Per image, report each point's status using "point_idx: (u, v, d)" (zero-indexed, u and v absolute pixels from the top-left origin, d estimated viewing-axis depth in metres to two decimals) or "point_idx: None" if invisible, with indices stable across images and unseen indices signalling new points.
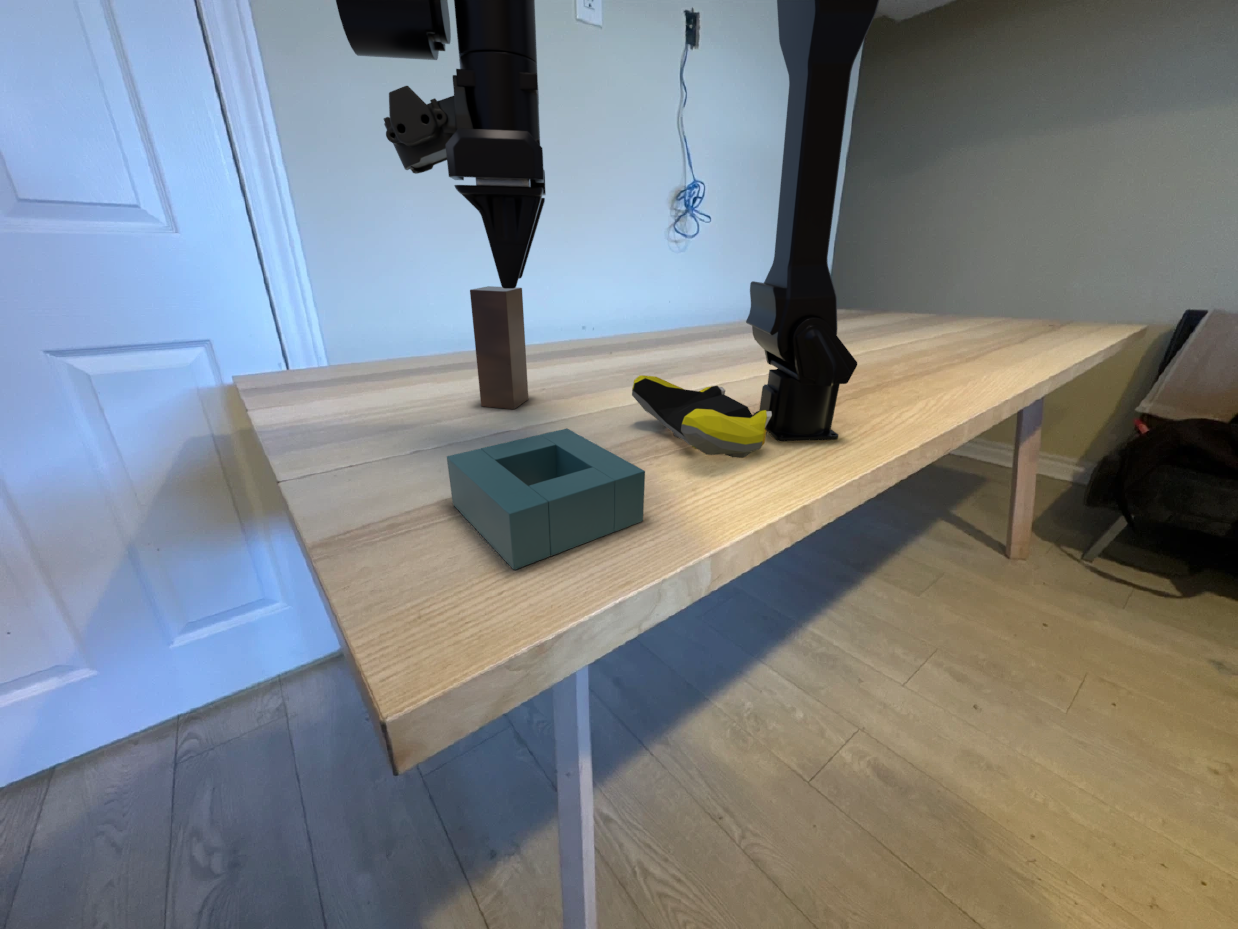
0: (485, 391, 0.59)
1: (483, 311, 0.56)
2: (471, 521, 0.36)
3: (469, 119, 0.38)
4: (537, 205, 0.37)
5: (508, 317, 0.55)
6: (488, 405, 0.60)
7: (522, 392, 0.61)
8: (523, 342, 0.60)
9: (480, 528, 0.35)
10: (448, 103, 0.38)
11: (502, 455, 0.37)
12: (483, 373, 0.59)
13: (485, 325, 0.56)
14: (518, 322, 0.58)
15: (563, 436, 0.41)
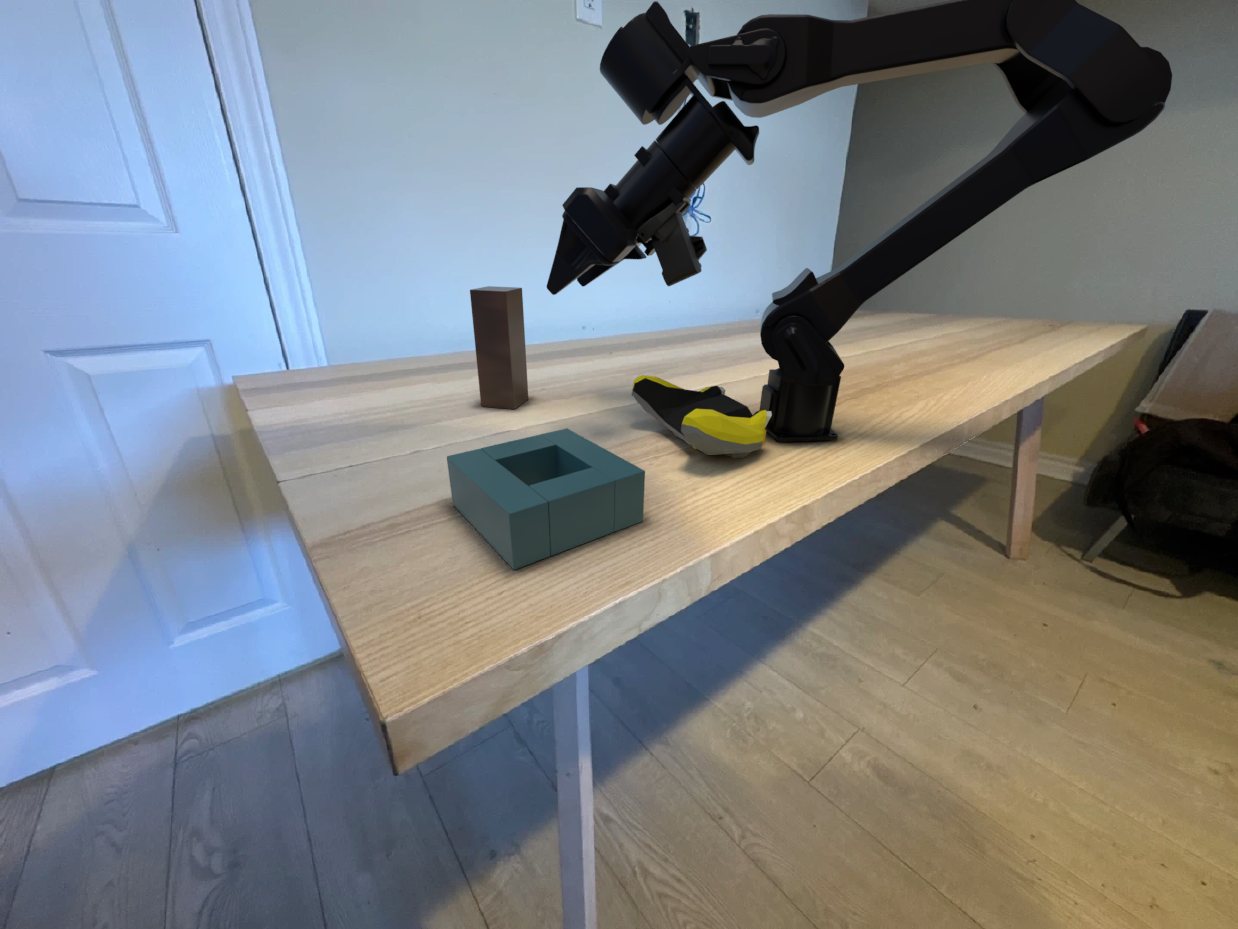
0: (485, 391, 0.59)
1: (483, 311, 0.56)
2: (471, 521, 0.36)
3: None
4: None
5: (508, 317, 0.55)
6: (488, 405, 0.60)
7: (522, 392, 0.61)
8: (523, 342, 0.60)
9: (480, 528, 0.35)
10: None
11: (502, 455, 0.37)
12: (483, 373, 0.59)
13: (485, 325, 0.56)
14: (518, 322, 0.58)
15: (563, 436, 0.41)
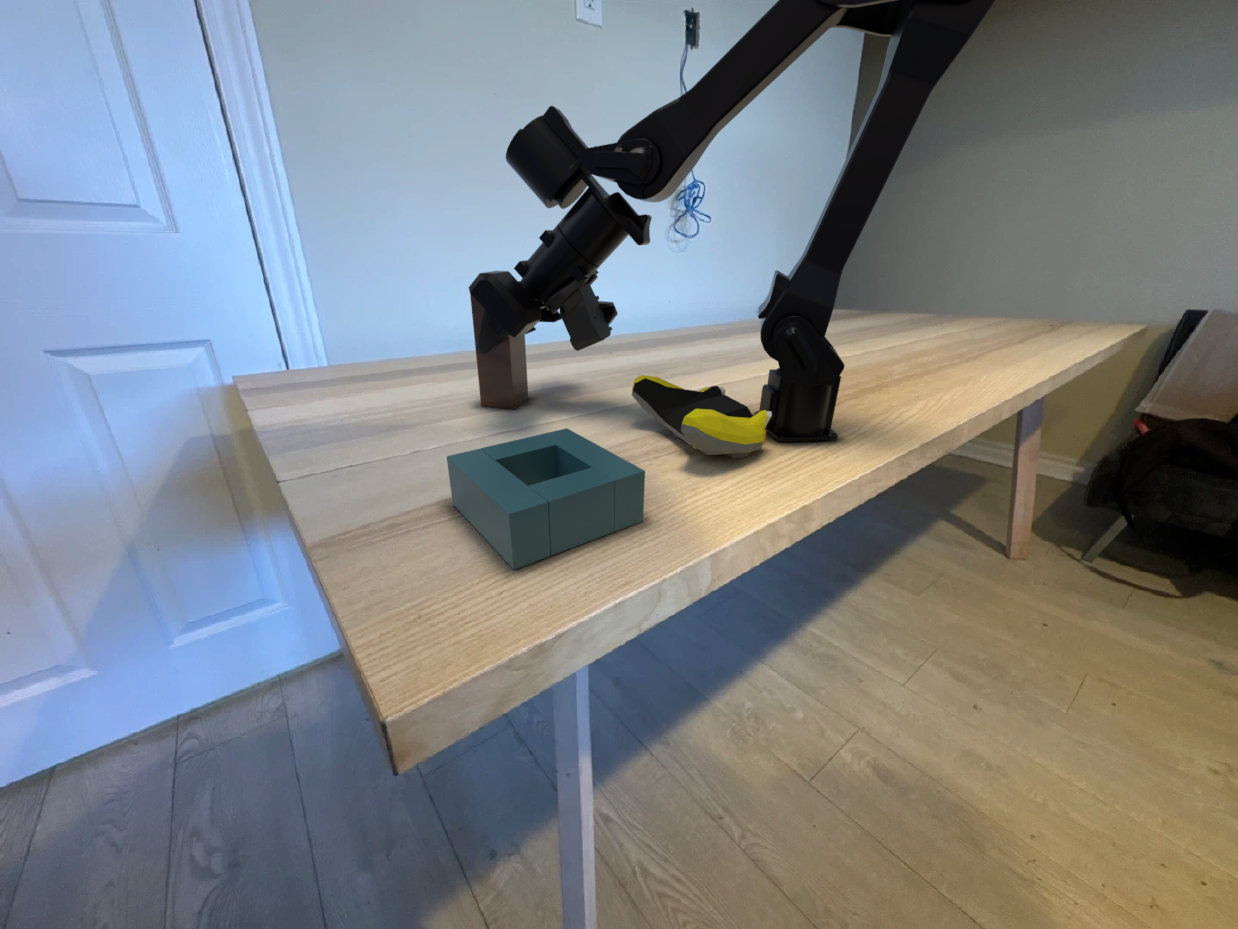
0: (485, 391, 0.59)
1: None
2: (471, 521, 0.36)
3: None
4: None
5: None
6: (488, 405, 0.60)
7: (522, 392, 0.61)
8: (523, 342, 0.60)
9: (480, 528, 0.35)
10: None
11: (502, 455, 0.37)
12: (483, 373, 0.59)
13: None
14: None
15: (563, 436, 0.41)
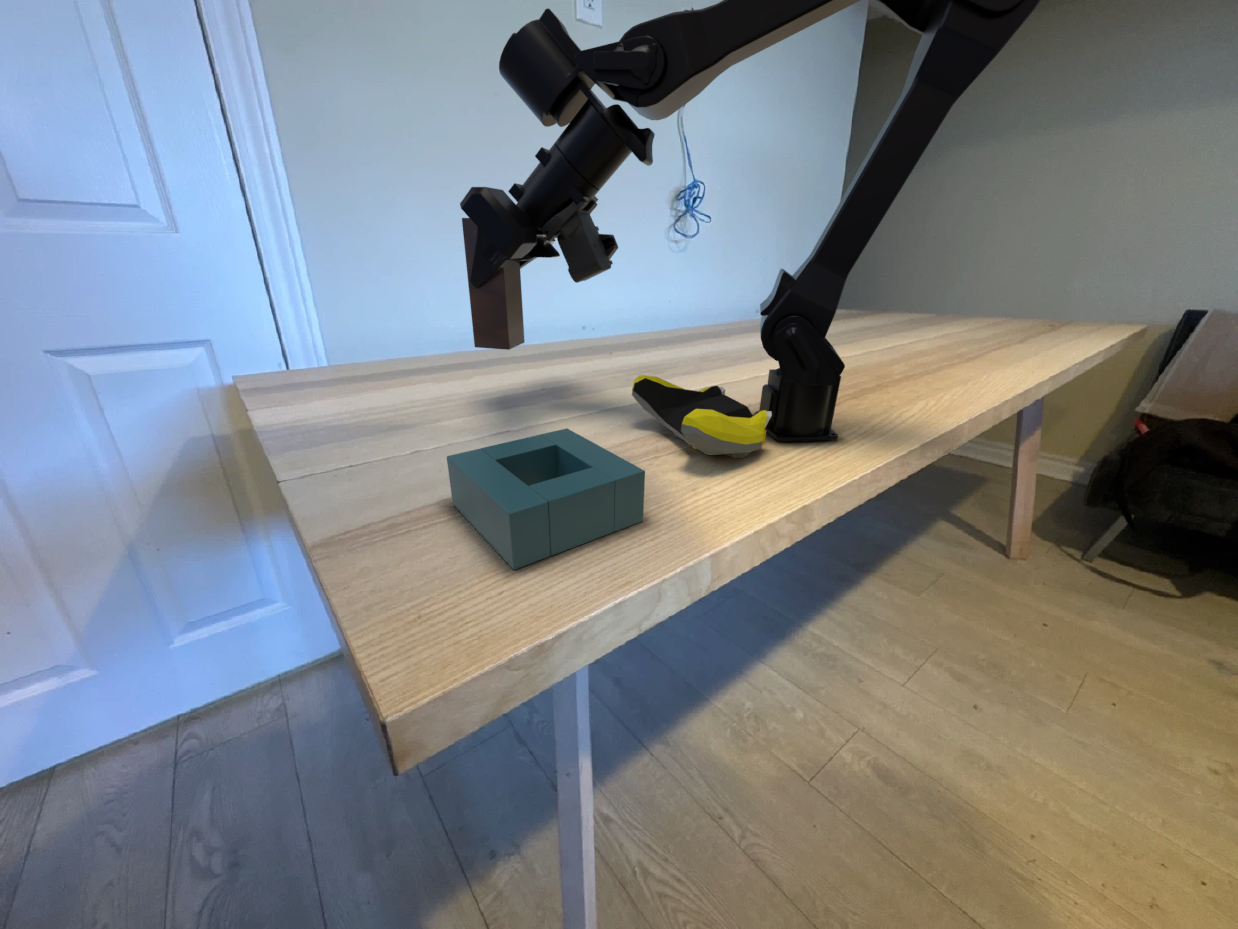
0: (479, 330, 0.56)
1: None
2: (471, 521, 0.36)
3: None
4: None
5: None
6: (482, 346, 0.57)
7: (518, 333, 0.58)
8: (519, 279, 0.57)
9: (480, 528, 0.35)
10: None
11: (502, 455, 0.37)
12: (477, 310, 0.55)
13: None
14: None
15: (563, 436, 0.41)
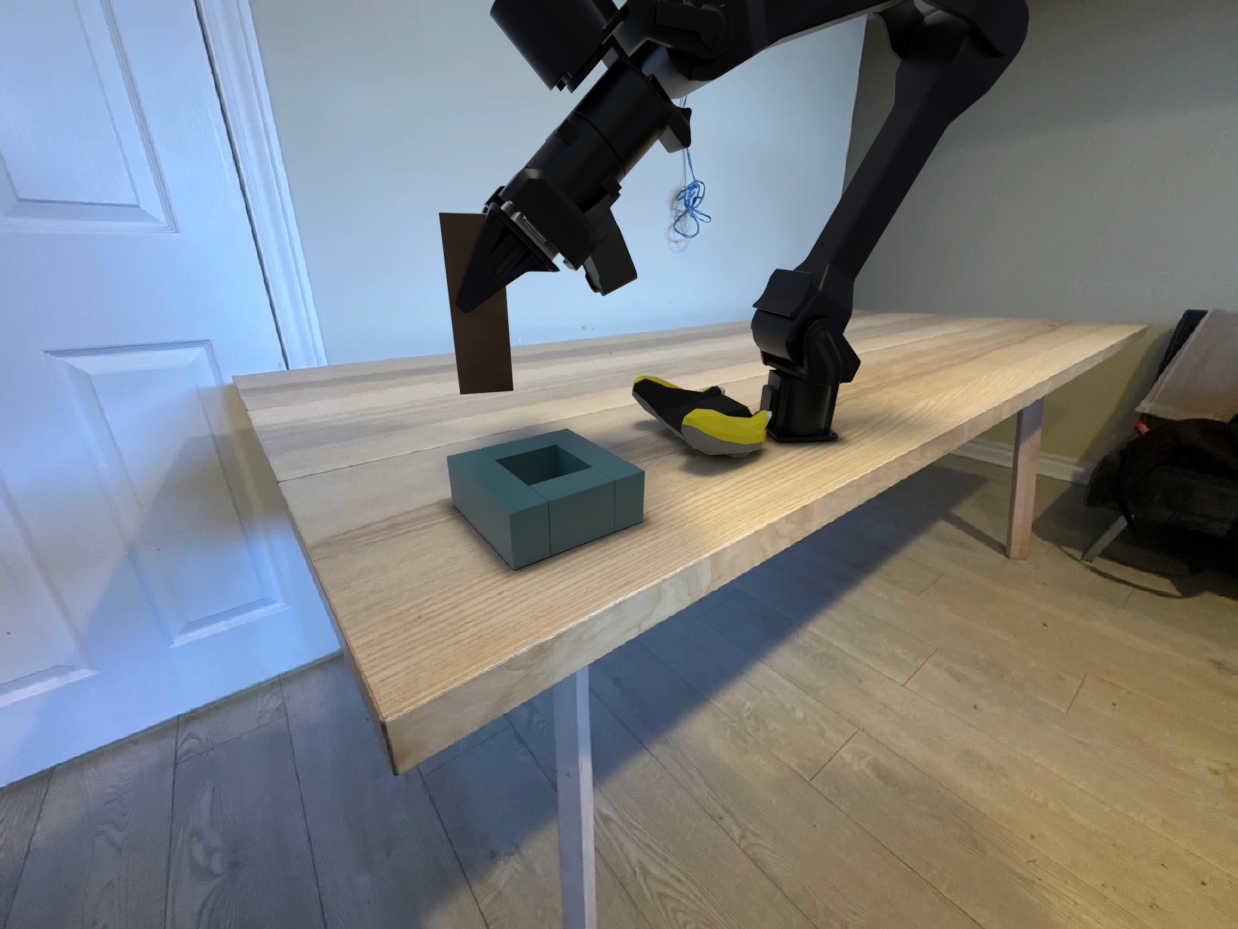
0: (467, 371, 0.40)
1: (464, 247, 0.37)
2: (471, 521, 0.36)
3: None
4: None
5: None
6: (472, 391, 0.41)
7: None
8: None
9: (480, 528, 0.35)
10: None
11: (502, 455, 0.37)
12: (464, 344, 0.39)
13: None
14: None
15: (563, 436, 0.41)
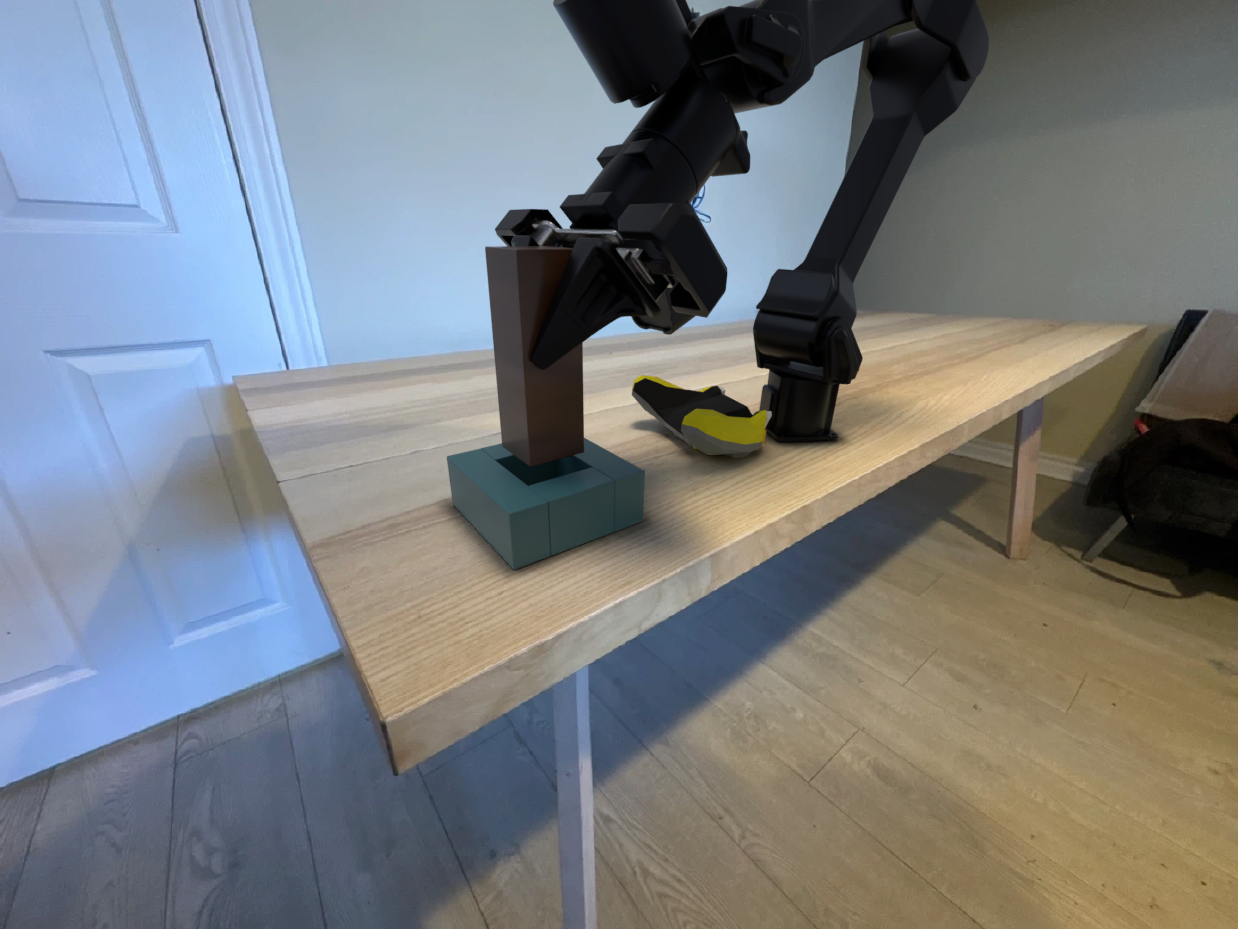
0: (539, 438, 0.33)
1: (542, 290, 0.30)
2: (471, 521, 0.36)
3: None
4: None
5: None
6: (543, 461, 0.34)
7: None
8: None
9: (480, 528, 0.35)
10: None
11: (502, 455, 0.37)
12: (537, 406, 0.32)
13: (544, 316, 0.30)
14: None
15: None
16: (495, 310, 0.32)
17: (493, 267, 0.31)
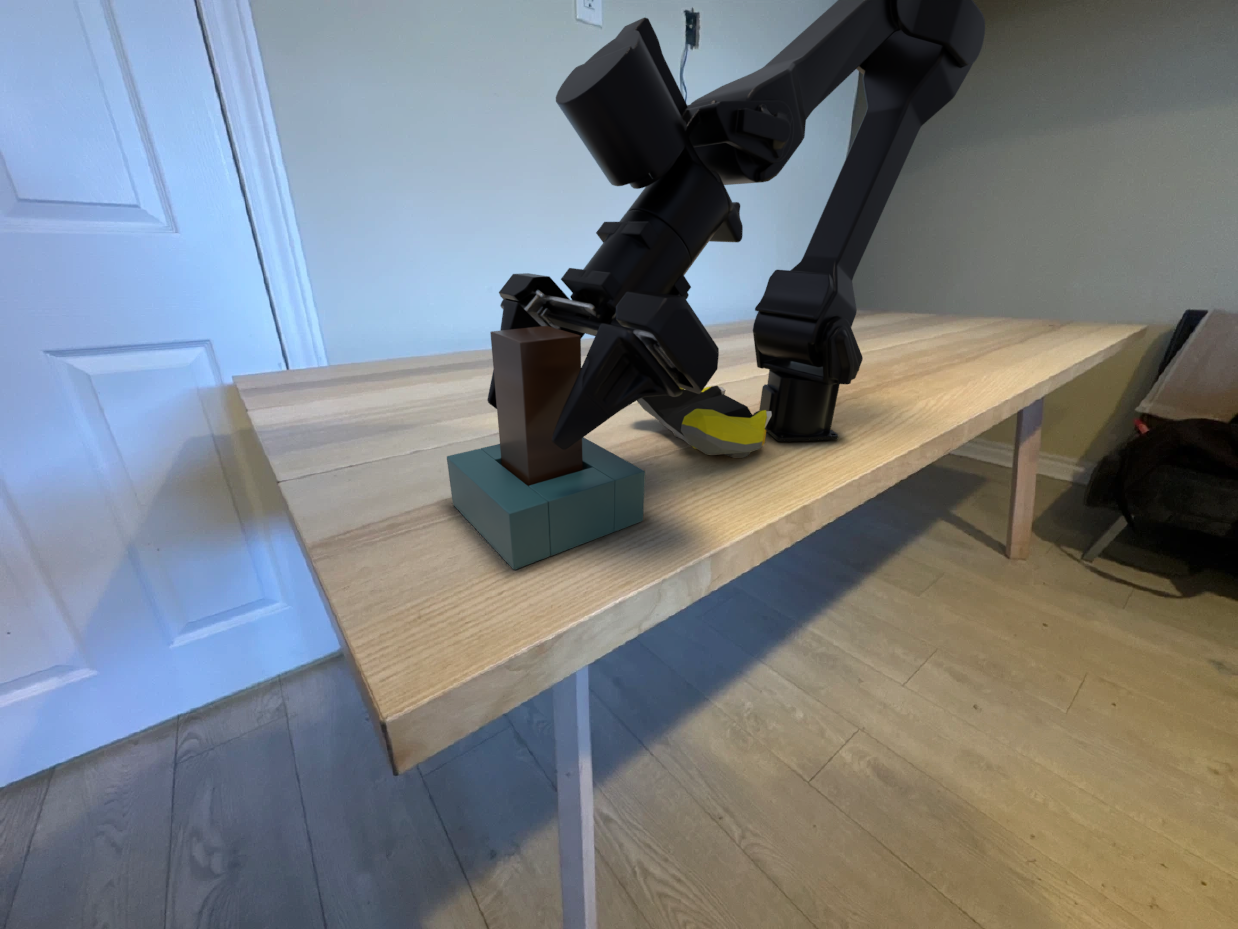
0: None
1: (544, 376, 0.32)
2: (471, 521, 0.36)
3: None
4: None
5: None
6: None
7: None
8: None
9: (480, 528, 0.35)
10: None
11: None
12: (539, 479, 0.34)
13: (546, 398, 0.32)
14: None
15: None
16: (499, 389, 0.34)
17: (498, 352, 0.33)
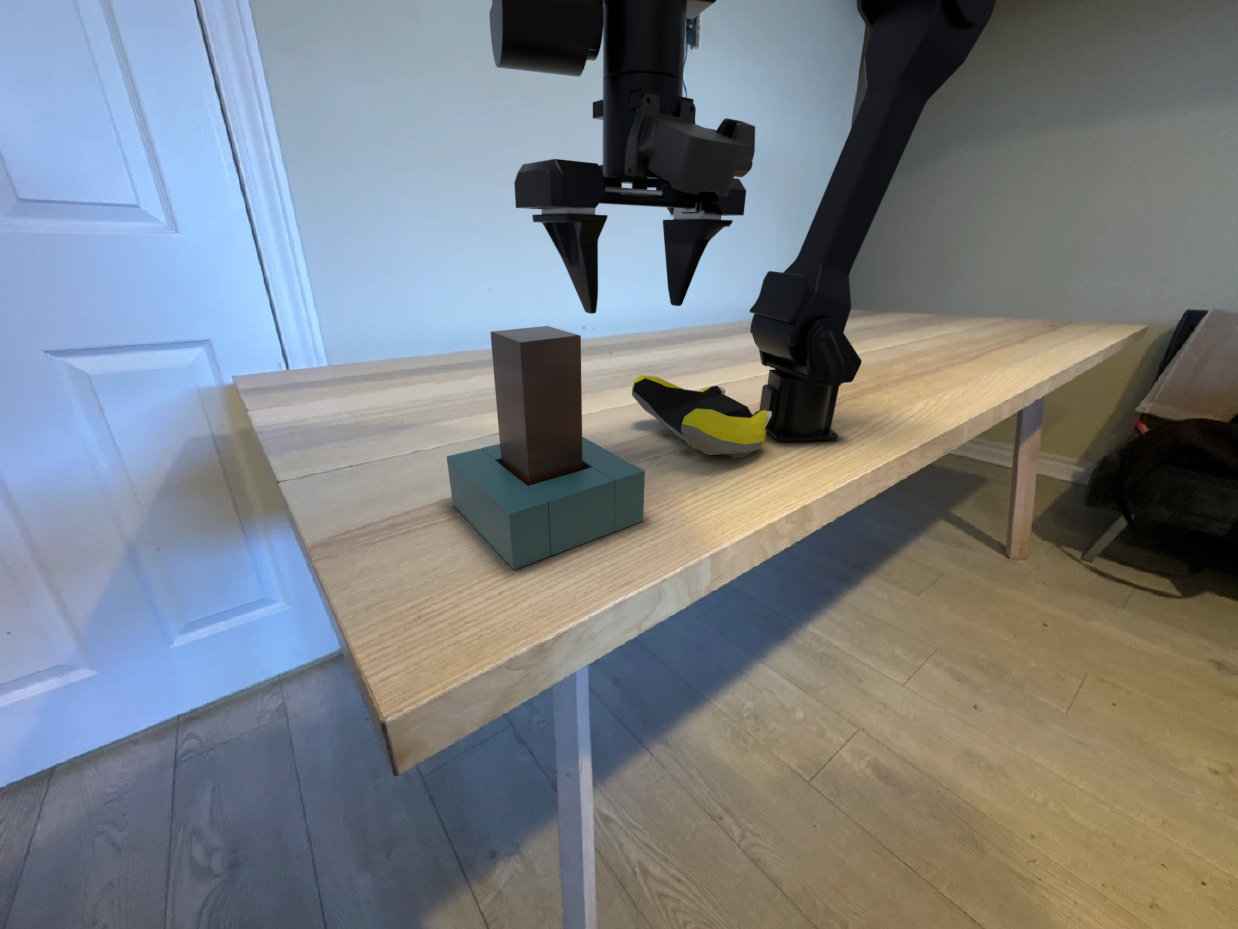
0: None
1: (544, 376, 0.32)
2: (471, 521, 0.36)
3: None
4: None
5: (580, 377, 0.33)
6: None
7: None
8: None
9: (480, 528, 0.35)
10: None
11: None
12: (539, 479, 0.34)
13: (546, 398, 0.32)
14: None
15: None
16: (499, 389, 0.34)
17: (498, 352, 0.33)
